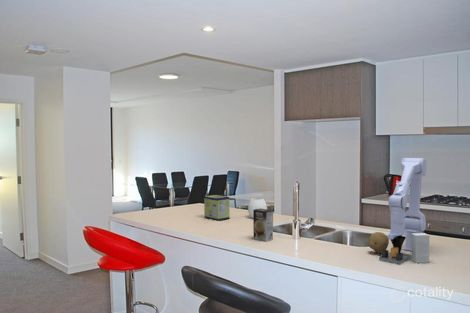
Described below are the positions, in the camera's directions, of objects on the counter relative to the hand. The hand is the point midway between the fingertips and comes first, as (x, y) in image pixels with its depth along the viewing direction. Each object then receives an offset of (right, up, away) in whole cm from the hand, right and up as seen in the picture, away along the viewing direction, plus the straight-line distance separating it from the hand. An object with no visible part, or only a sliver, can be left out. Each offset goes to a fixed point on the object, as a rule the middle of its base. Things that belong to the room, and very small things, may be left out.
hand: (397, 252), depth 179 cm
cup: (-56, 0, +102) cm, 116 cm away
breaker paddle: (-2, -1, -2) cm, 3 cm away
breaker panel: (-1, -3, -1) cm, 3 cm away
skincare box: (+8, -3, -5) cm, 10 cm away
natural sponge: (-6, -3, +9) cm, 11 cm away
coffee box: (-57, -2, +38) cm, 68 cm away
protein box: (-85, -1, +101) cm, 131 cm away
